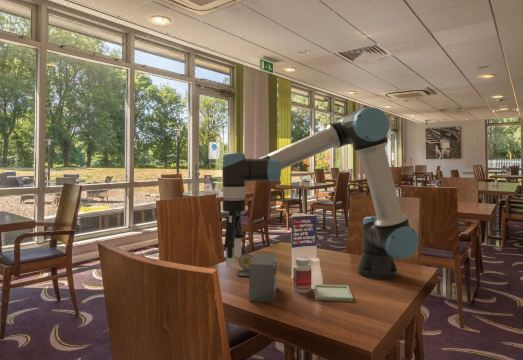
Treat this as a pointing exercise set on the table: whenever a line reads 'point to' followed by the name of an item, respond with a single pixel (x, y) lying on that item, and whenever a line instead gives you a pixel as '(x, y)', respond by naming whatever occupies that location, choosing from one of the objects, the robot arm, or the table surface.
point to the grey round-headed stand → (242, 261)
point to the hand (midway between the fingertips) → (234, 261)
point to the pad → (333, 293)
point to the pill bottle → (302, 275)
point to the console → (263, 277)
